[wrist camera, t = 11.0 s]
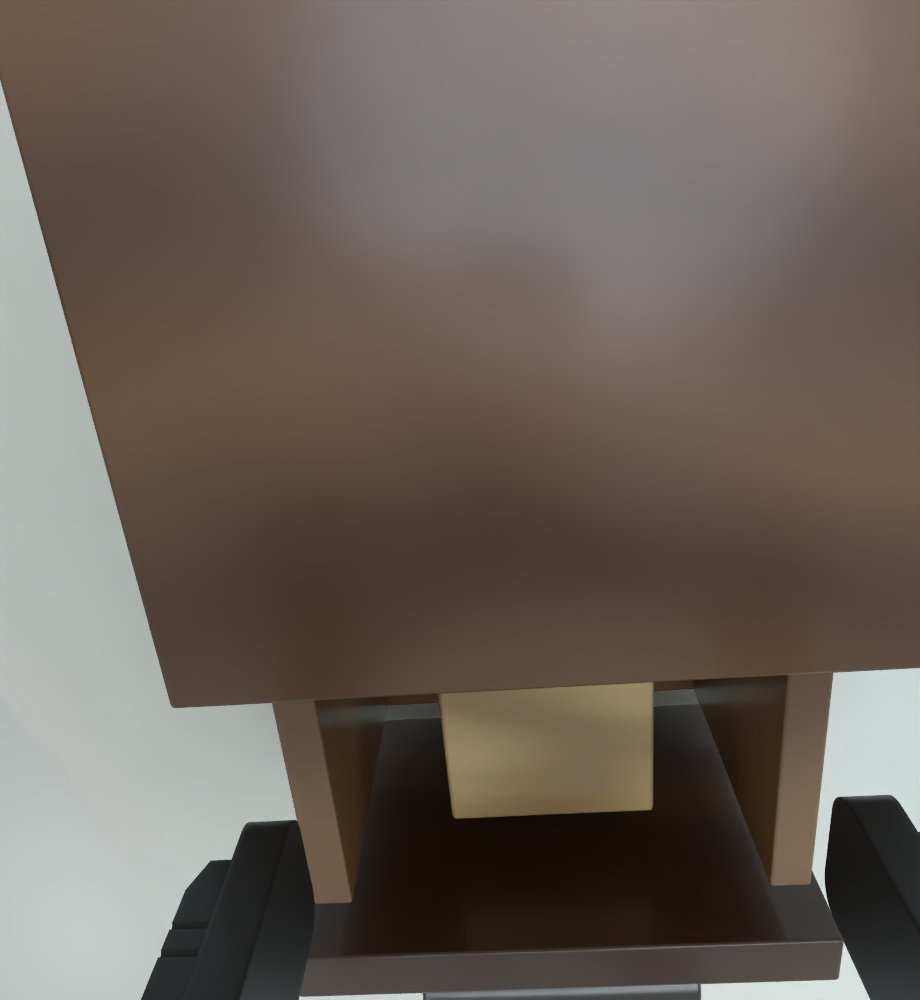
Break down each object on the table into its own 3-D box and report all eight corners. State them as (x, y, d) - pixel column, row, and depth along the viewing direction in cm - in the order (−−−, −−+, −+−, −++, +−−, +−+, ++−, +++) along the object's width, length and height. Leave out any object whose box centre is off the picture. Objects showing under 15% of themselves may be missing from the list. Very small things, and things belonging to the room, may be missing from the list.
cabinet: (761, 458, 22) (951, 668, 13) (294, 491, 22) (169, 710, 14) (803, -240, 16) (1196, -727, 7) (177, -165, 17) (-168, -521, 8)
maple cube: (443, 552, 21) (458, 698, 22) (432, 651, 17) (452, 821, 18) (621, 541, 20) (622, 689, 22) (655, 639, 16) (654, 811, 18)
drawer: (728, 844, 26) (822, 1112, 19) (370, 859, 26) (328, 1122, 19) (759, 263, 19) (928, 330, 12) (275, 304, 20) (153, 391, 12)
